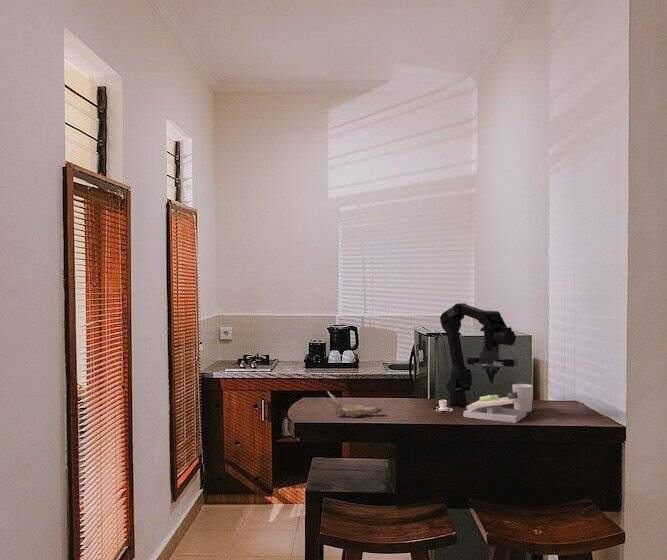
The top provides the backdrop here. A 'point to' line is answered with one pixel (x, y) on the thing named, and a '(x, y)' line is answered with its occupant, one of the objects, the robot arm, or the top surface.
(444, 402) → the teacup and saucer
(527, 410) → the white cup
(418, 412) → the top surface
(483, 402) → the instrument plate
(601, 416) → the top surface
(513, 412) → the instrument base
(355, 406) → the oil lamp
